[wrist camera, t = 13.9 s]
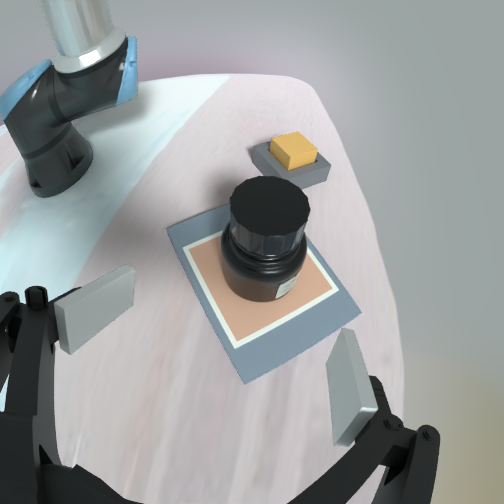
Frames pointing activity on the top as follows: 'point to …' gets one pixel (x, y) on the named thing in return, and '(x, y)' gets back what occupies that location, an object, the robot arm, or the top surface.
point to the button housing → (297, 176)
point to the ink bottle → (264, 238)
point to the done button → (293, 150)
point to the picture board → (260, 313)
